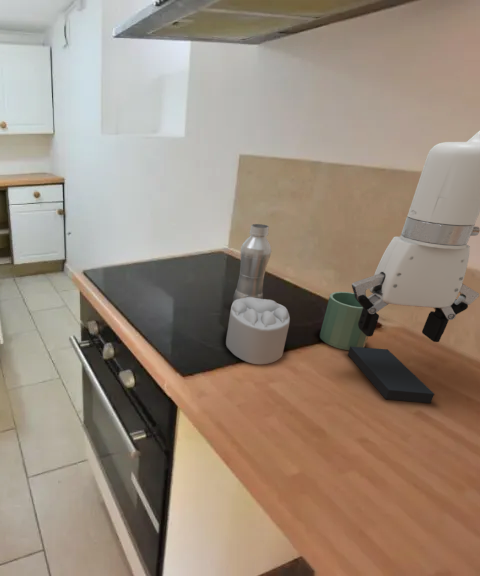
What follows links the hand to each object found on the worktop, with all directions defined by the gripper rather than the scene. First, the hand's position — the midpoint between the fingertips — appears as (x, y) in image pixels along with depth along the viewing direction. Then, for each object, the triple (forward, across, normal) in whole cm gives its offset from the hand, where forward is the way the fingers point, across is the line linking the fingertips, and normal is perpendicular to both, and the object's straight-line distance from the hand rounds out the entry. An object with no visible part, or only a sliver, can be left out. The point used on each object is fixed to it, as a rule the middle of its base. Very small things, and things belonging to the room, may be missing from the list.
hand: (397, 335), depth 62 cm
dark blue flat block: (+8, -1, 0) cm, 8 cm away
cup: (+8, +1, -12) cm, 15 cm away
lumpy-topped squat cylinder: (+9, +19, -7) cm, 22 cm away
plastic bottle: (+9, +17, -24) cm, 31 cm away
